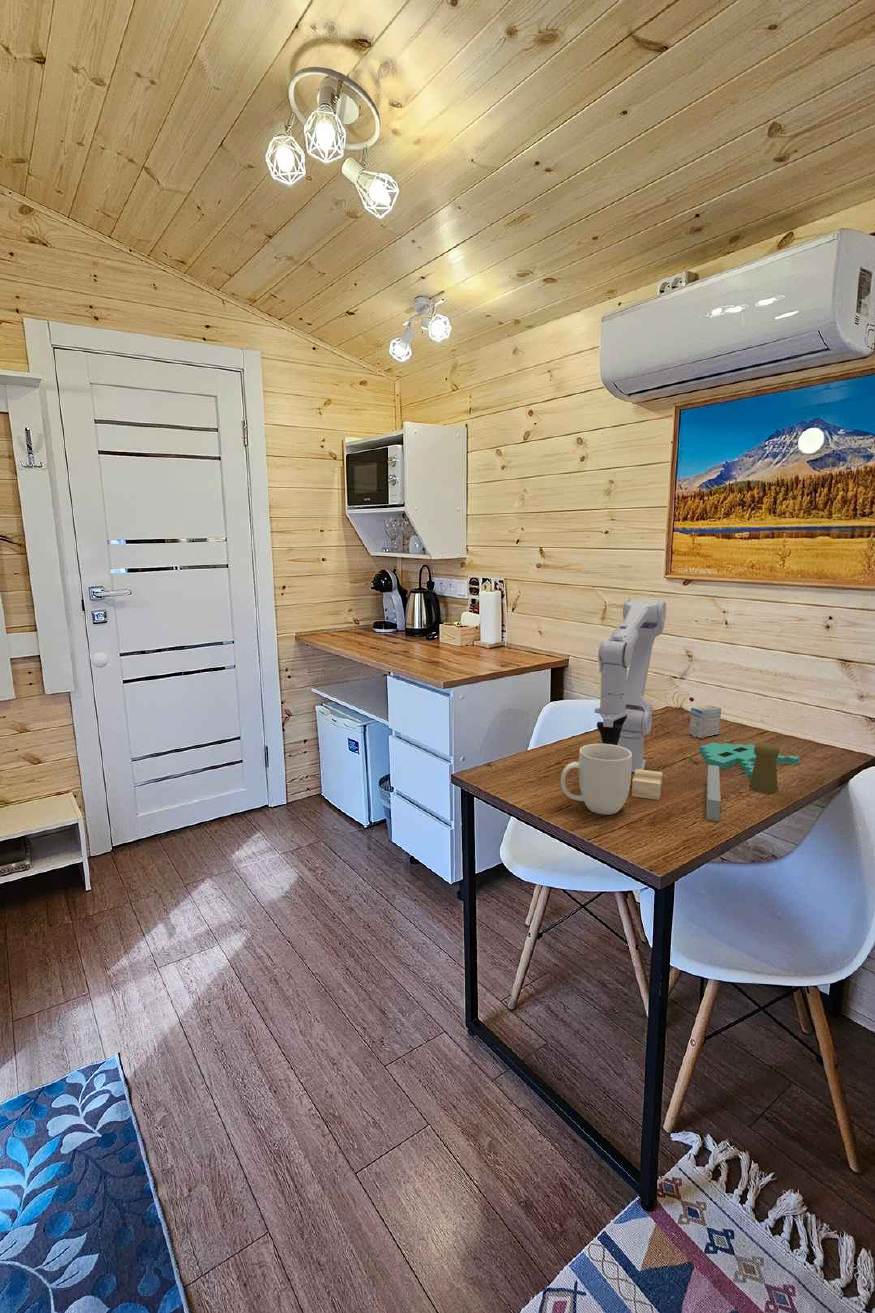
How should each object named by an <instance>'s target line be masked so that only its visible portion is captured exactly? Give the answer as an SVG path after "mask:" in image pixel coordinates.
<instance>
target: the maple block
mask: <svg viewBox="0 0 875 1313" xmlns="http://www.w3.org/2000/svg"><path fill="white" fill-rule="evenodd" d="M631 780H632V781H631V782H632V783H631V784H632V785H631V797H636V798H640V799H641V798H642V799H650V800H656V801H660V798H661V793H662V787H663V771H655V770H646V769H644V770H640V769H636V771H635V772H634V774H633V777H632V779H631Z"/></svg>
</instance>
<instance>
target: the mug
mask: <svg viewBox="0 0 875 1313" xmlns="http://www.w3.org/2000/svg"><path fill="white" fill-rule="evenodd" d="M578 754H579V757H578V761H573V762H570V763H568V764H567V765H566V766H565V767H564V768H563V769H562V772H561V776H560V787H561V790H562V791H563V793H564V794H565V796H566V797H568V798H569V799H571V800H574V801H579V802H583V803H584V804H585V806H586V807H587V809H588V810H589V811H590V812H592V813H595V814H598V815H605V816H609V815H613V814H614V815H615V814H616V813H619V811H620V810H621V809H622V808H623V806H624V805H625V803H626V801H627V798H628V795H629V793H630V787H631V784H632V783H631V782H632V781H631V780H632V779H631V778H632V772H631V771H632V770H631V768H632V753H631V752H630V751H629V750H628V749H626V748H624V747H621V746H617V745H611V744H603V743H591V744H586V745H583V746H581V747H580V748H579V753H578ZM572 769H578V783H579V784H578V786H579V789H580V794H579V795H578V794H577V795H576V794H574V793H571V792H570V791H569V790H568V788H567V786H566V777H567V774H568V772H569V771H570V770H572Z"/></svg>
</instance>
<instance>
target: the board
mask: <svg viewBox="0 0 875 1313" xmlns="http://www.w3.org/2000/svg"><path fill="white" fill-rule="evenodd" d="M720 781H721V778H720V769H719V766H713V765H707V777H706V820H708V821H713V822H720V813H721V803H722V802H721V782H720Z"/></svg>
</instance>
